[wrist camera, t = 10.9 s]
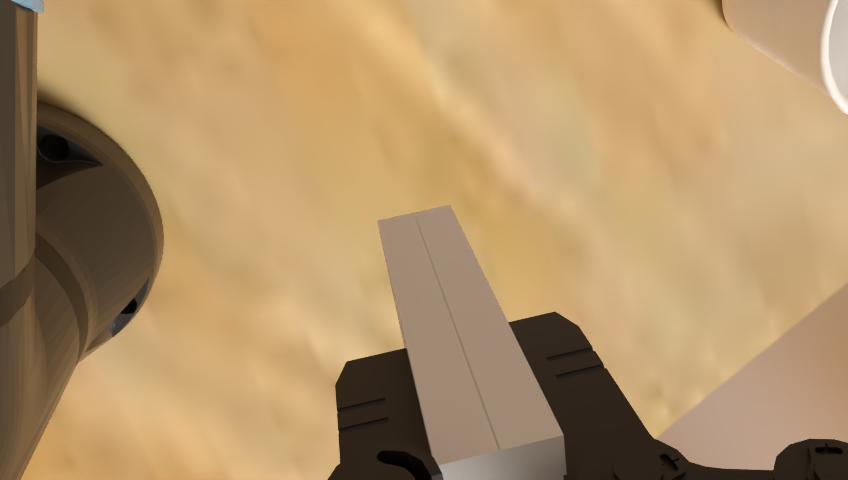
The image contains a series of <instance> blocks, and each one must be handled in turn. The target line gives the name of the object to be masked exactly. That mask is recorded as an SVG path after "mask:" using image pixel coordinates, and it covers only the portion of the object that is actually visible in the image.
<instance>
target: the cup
mask: <svg viewBox="0 0 848 480" xmlns="http://www.w3.org/2000/svg"><path fill="white" fill-rule="evenodd" d="M722 7H723V13H724V17H725V20H726V22H727V24H728V26H729V28H730V29H731V30H732V32H733V33H734V34H735V35H736V36H738V37H739V38H741V39H742V40H744V41H745V42H747V43H748V44H750V45H751V46H753V47H754V48H756V49H757V50H759V51H761V52H762V53H764V54H765V55H767V56H768V57H770V58H771V59H773V60H774V61H776V62H777V63H779V64H780V65H782V66H783V67H785V68H786V69H788V70H789V71H791V72H793V73H794V74H796V75H797V76H799V77H800V78H802V79H803V80H805V81H806V82H808V83H809V84H811V85H812V86H814V87H815V88H817V89H818V90H820V91H821V92H823V93H824V94H826V95H827V96H829V97H830V98H831V99H832V101H833V102H834V103H835V104H836V105H837V107H838V108H839V109H840V110H841V111H842V112H844V113H845V114H847V115H848V0H722Z"/></svg>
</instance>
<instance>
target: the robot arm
mask: <svg viewBox="0 0 848 480" xmlns="http://www.w3.org/2000/svg"><path fill="white" fill-rule="evenodd" d="M38 12H39V13H43V12H44V2H43V0H0V480H20V479H21V477H22V475H23V473H24V471H25V469H26V467H27V465H28V463H29V461H30V459H31V457H32V455H33V453H34V451H35V449H36V447H37V445H38V443H39V441H40V439H41V437H42V434H43V432H44V430H45V428H46V426H47V424H48V422H49V420H50V418H51V416H52V414H53V412H54V410H55V408H56V406H57V404H58V402H59V400H60V398H61V396H62V394H63V392H64V390H65V388H66V386H67V384H68V382H69V380H70V377H71V375H72V373H73V371H74V369H75V367H76V365H77V363H79V362H80V361H81V360H83V359H84V358H86V357H87V356H88V355H90V354H91V353H92V352H94V351H95V350H96V349H98V348H99V347H100V346H102V345H103V344H104V343H106V342H107V341H108V340H110V339H111V338H112V337H114V336H115V335H116V334H117V333H119V332H120V331H121V330H122V329H123V328H124V327H125V326H126V325H127V324H128V323H129V322H130V321H131V320H132V319H133V318H134V317H135V315H136V314H137V313H138V311H139V310H140V309H141V307H142V306H143V304H144V302H145V301H146V299H147V297H148V295H149V293H150V290H151V288H152V285H153V283H154V281H155V278H156V276H157V273H158V271H159V267H160V264H161V260H162V254H163V245H164V235H163V225H162V219H161V215H160V211H159V208H158V205H157V202H156V199H155V197H154V195H153V192H152V190H151V188H150V186H149V185H148V183H147V181H146V179H145V178H144V176H143V175H142V173H141V172H140V170H139V169H138V168H137V166H136V165H135V164H134V163H133V161H132V160H131V159H130V158H129V157H128V156H127V155H126V154H125V152H124V151H123V150H122V149H121V148H120V147H118V146H117V145H116V144H115V143H114V142H113V141H112V140H111V139H109V138H108V137H107V136H106V135H104V134H103V133H102V132H100V131H99V130H97V129H96V128H95V127H93V126H91V125H90V124H88V123H87V122H85V121H83V120H81V119H80V118H78V117H76V116H74V115H72V114H70V113H68V112H66V111H63V110H61V109H59V108H56V107H53V106H51V105H48V104H45V103H42V102H39V101H37V15H38ZM378 226H379V231H380V235H381V240H382V245H383V249H384V254H385V259H386V263H387V268H388V273H389V278H390V282H391V287H392V292H393V296H394V301H395V306H396V310H397V315H398V320H399V324H400V329H401V333H402V338H403V342H404V346H405V348H404V349H400V350H395V351H391V352H387V353H382V354H378V355H374V356H369V357H365V358H361V359H356V360H352V361H347V362H346V364H345V366H344V368H343V370H342V372H341V374H340V377H339V379H338V381H337V383H336V385H335V387H336V402H337V411H338V414H337V417H338V430H339V448H340V464H339V465H338V466H337V467H336V468H335V469H334V471H333V472H332V474H331V475H330V477H329V478H328V480H848V443H846V442H842V441H838V440H834V439H833V440H832V439H808V440H804V441H801V442H797V443H794V444H791V445H789V446H788V447H786V448H785V449H784V450H783V451H782V452H781V453H780V454H779V455H778V456H777V457H776V461H775V465H774V470H741V469H720V468H712V467H705V466H701V465H698V464H695V463H691V462H689V461H688V460H687V459H686V458H685V457H684V456H683V455H682V454H681V453H680V452H679V451H678V450H677V449H674V448H673V447H671V446H669V445H666V444H665V443H662V442H661V441H659V440H656V439H654V438H653V437H652V436H651V435H650V434H649V432H648V431H647V429H646V428H645V426H644V425H643V423H642V422H641V420H640V419H639V417H638V416H637V414H636V413H635V411H634V410H633V408H632V407H631V405H630V404H629V402H628V401H627V399H626V397H625V396H624V394H623V393H622V391H621V390H620V388H619V387H618V385H617V384H616V382H615V381H614V379H613V378H612V376H611V375H610V373H609V372H608V370H607V369H606V368H604V365H603V363H602V361H601V360H600V358H599V356H598V355H597V353H596V352H595V351H593V349H592V346H591V344H590V343H589V341H588V340H587V338H586V337H585V335H584V334H583V332H582V331H581V329H580V328H579V326H577V325H576V324H574V323H572V322H571V321H569V320H568V319H566V318H564V317H563V316H561V315H560V314H558V313H556V312H552V313H547V314H543V315H539V316H534V317H530V318H526V319H521V320H517V321H512V322H508V321H507V319H506V317H505V315H504V313H503V311H502V309H501V307H500V305H499V303H498V301H497V299H496V297H495V295H494V293H493V291H492V289H491V287H490V285H489V283H488V281H487V279H486V277H485V275H484V273H483V271H482V269H481V267H480V265H479V263H478V261H477V258H476V256H475V254H474V252H473V250H472V248H471V246H470V244H469V242H468V240H467V238H466V236H465V234H464V232H463V230H462V228H461V226H460V224H459V222H458V220H457V218H456V216H455V214H454V212H453V210H452V208H451V206H450V205H448V206H444V207H439V208H434V209H430V210H425V211H420V212H416V213H411V214H406V215H402V216H397V217H392V218H388V219H383V220H378Z"/></svg>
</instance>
